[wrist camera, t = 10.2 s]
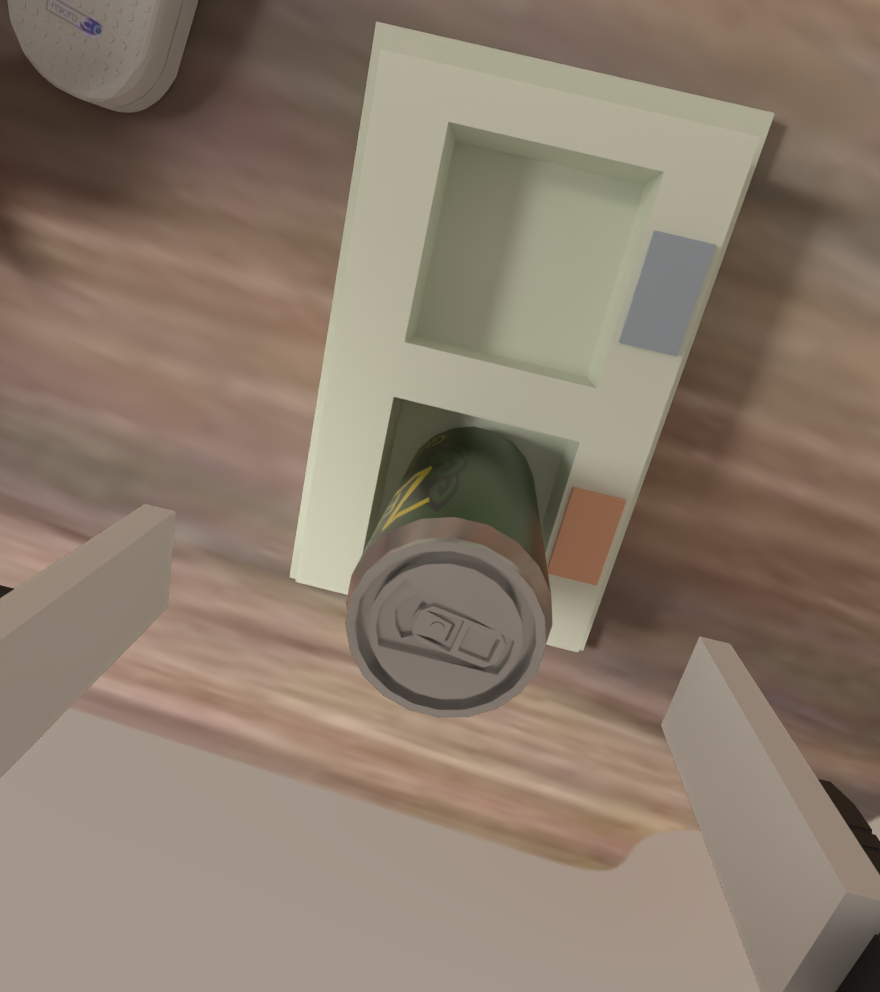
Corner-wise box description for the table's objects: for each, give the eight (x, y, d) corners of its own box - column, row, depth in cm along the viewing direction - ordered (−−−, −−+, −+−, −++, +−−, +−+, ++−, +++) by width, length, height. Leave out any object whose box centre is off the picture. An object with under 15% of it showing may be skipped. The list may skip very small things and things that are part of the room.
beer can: (554, 452, 26) (595, 584, 14) (502, 560, 27) (502, 754, 16) (434, 402, 25) (378, 497, 14) (390, 514, 27) (309, 678, 16)
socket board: (293, 571, 29) (265, 609, 26) (379, 27, 22) (356, -20, 18) (581, 643, 29) (591, 691, 26) (767, 117, 22) (816, 86, 18)
